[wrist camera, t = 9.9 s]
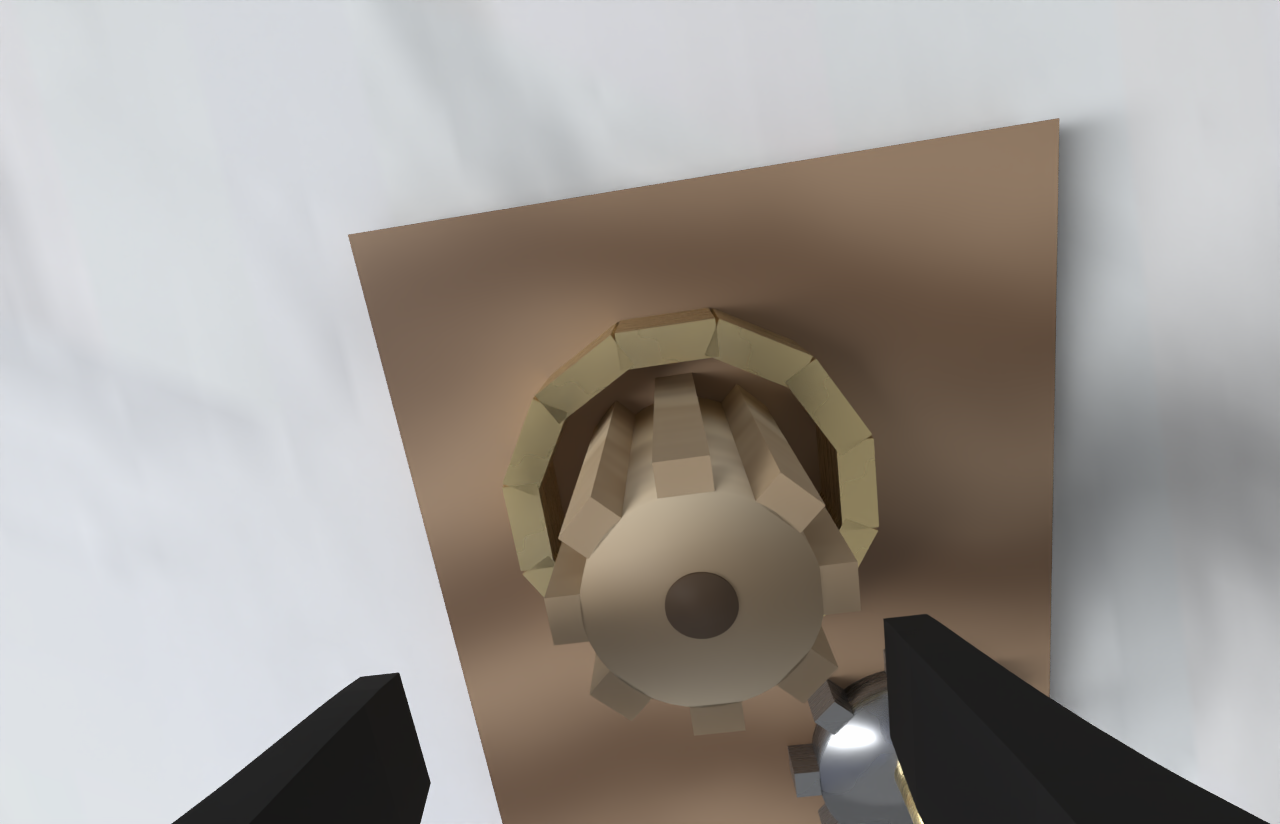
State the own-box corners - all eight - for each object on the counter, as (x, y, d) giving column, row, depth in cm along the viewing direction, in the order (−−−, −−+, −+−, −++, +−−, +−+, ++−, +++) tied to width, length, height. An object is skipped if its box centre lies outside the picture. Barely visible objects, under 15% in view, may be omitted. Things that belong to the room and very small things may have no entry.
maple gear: (796, 551, 17) (869, 721, 11) (604, 573, 17) (575, 750, 11) (778, 360, 16) (850, 438, 10) (570, 389, 16) (517, 482, 10)
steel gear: (1020, 825, 19) (1085, 931, 16) (798, 845, 19) (822, 952, 17) (1021, 634, 17) (1094, 714, 14) (777, 660, 18) (800, 744, 15)
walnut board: (1020, 799, 21) (1047, 842, 19) (529, 845, 22) (519, 889, 20) (1021, 129, 15) (1059, 117, 14) (375, 234, 16) (348, 234, 15)
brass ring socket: (860, 598, 17) (885, 644, 15) (557, 632, 18) (545, 682, 16) (839, 287, 15) (865, 296, 13) (495, 338, 16) (472, 354, 14)
